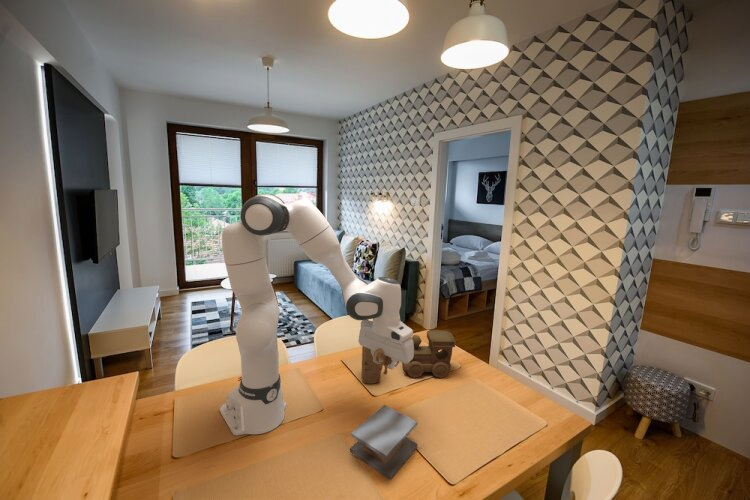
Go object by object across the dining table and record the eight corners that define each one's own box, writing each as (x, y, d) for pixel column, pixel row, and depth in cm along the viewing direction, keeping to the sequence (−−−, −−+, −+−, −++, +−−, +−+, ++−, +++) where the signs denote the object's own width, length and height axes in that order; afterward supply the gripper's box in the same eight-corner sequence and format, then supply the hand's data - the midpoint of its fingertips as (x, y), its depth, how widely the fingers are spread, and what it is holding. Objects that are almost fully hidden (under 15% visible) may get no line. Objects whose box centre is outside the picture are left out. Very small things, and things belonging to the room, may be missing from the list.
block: (381, 385, 125) (383, 337, 121) (361, 385, 124) (363, 336, 121) (378, 370, 136) (380, 325, 132) (360, 370, 135) (362, 325, 131)
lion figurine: (378, 380, 103) (379, 354, 101) (368, 372, 107) (370, 347, 105) (412, 368, 111) (414, 343, 110) (402, 361, 115) (404, 337, 114)
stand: (347, 454, 91) (348, 431, 90) (380, 424, 104) (381, 403, 102) (387, 482, 83) (389, 457, 82) (418, 445, 96) (420, 423, 94)
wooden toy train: (445, 364, 142) (448, 329, 139) (453, 379, 131) (456, 341, 128) (400, 364, 141) (403, 328, 138) (404, 379, 130) (407, 340, 127)
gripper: (355, 320, 109) (353, 358, 111) (407, 338, 97) (404, 380, 99) (367, 315, 114) (365, 351, 116) (417, 332, 102) (414, 372, 104)
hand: (383, 365), depth 107 cm, fingers closed on lion figurine, 5 cm apart
